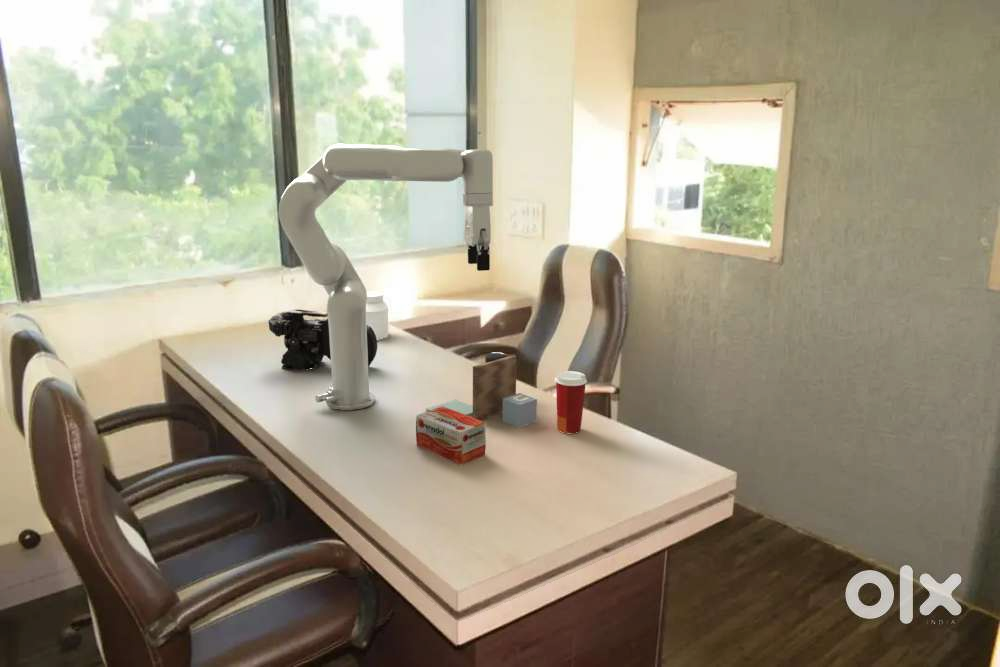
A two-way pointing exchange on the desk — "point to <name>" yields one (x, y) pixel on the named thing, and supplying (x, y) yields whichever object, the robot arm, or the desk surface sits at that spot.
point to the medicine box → (451, 434)
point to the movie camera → (309, 338)
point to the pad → (455, 407)
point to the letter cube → (519, 409)
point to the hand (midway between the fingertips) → (478, 266)
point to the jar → (377, 314)
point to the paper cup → (570, 400)
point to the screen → (493, 386)
